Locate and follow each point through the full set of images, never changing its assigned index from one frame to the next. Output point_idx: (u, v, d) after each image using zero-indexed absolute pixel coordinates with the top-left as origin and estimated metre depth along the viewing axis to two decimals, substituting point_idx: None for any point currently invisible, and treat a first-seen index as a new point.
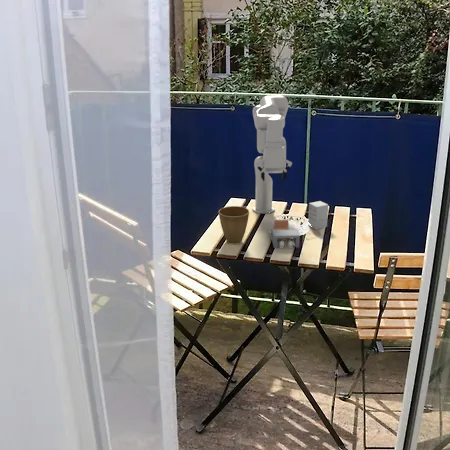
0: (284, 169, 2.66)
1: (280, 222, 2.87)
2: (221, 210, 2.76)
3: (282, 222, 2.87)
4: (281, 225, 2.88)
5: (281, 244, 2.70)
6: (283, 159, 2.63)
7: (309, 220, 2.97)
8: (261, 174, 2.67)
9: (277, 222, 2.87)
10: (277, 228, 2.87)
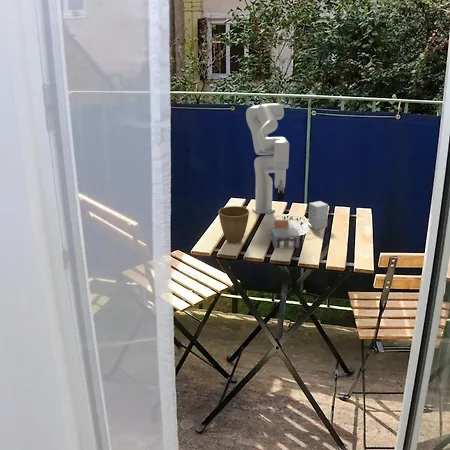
0: None
1: (280, 222, 2.87)
2: (221, 210, 2.76)
3: (282, 222, 2.87)
4: (281, 225, 2.88)
5: (281, 244, 2.70)
6: None
7: (309, 220, 2.97)
8: (281, 195, 2.83)
9: (277, 222, 2.87)
10: (277, 228, 2.87)
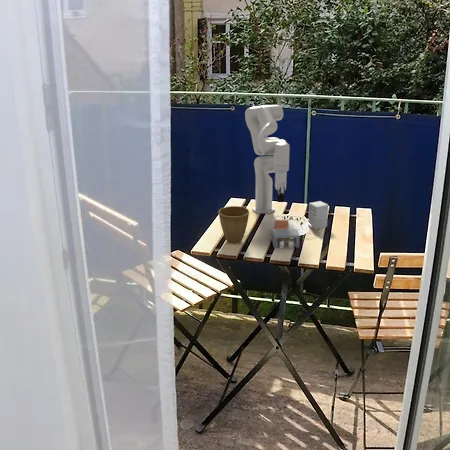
0: None
1: (280, 222, 2.87)
2: (221, 210, 2.76)
3: (282, 222, 2.87)
4: (281, 225, 2.88)
5: (281, 244, 2.70)
6: None
7: (309, 220, 2.97)
8: (282, 197, 2.89)
9: (277, 222, 2.87)
10: (277, 228, 2.87)
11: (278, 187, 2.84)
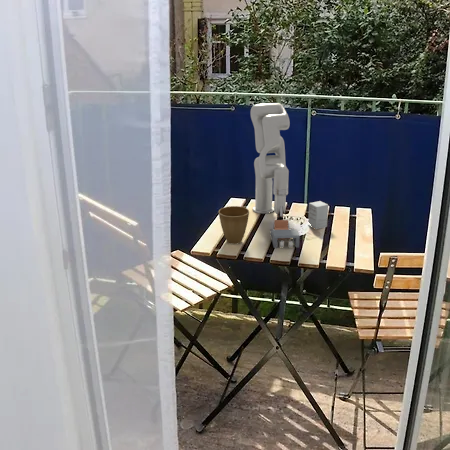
0: None
1: (280, 222, 2.87)
2: (221, 210, 2.76)
3: (282, 222, 2.87)
4: (281, 225, 2.88)
5: (281, 244, 2.70)
6: None
7: (309, 220, 2.97)
8: None
9: (277, 222, 2.87)
10: (277, 228, 2.87)
11: (277, 211, 2.88)
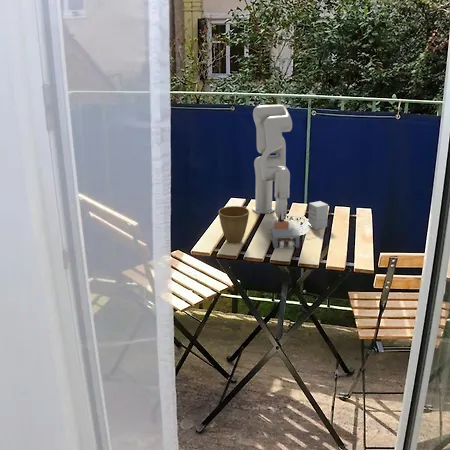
0: None
1: (280, 223, 2.86)
2: (221, 210, 2.76)
3: (282, 223, 2.86)
4: (281, 226, 2.86)
5: (281, 244, 2.70)
6: None
7: (309, 220, 2.97)
8: None
9: (277, 223, 2.86)
10: (277, 229, 2.85)
11: (278, 214, 2.84)
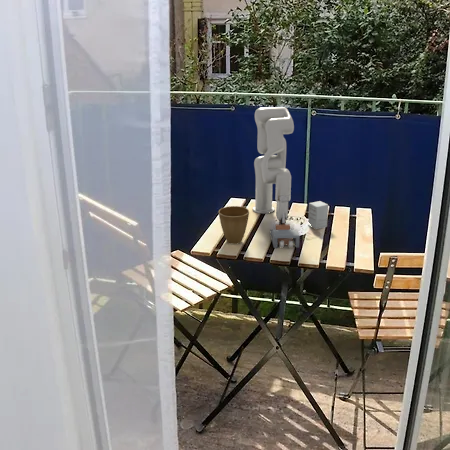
0: None
1: (281, 227, 2.81)
2: (221, 210, 2.76)
3: (283, 227, 2.81)
4: None
5: (281, 244, 2.70)
6: None
7: (309, 220, 2.97)
8: None
9: (278, 227, 2.81)
10: None
11: (279, 217, 2.80)
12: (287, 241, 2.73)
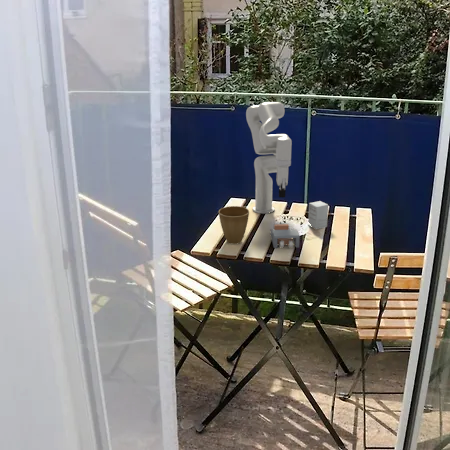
0: None
1: (280, 227, 2.81)
2: (221, 210, 2.76)
3: (282, 226, 2.81)
4: None
5: (281, 244, 2.70)
6: None
7: (309, 220, 2.97)
8: (283, 192, 2.86)
9: (277, 227, 2.81)
10: None
11: (279, 182, 2.80)
12: (287, 241, 2.74)
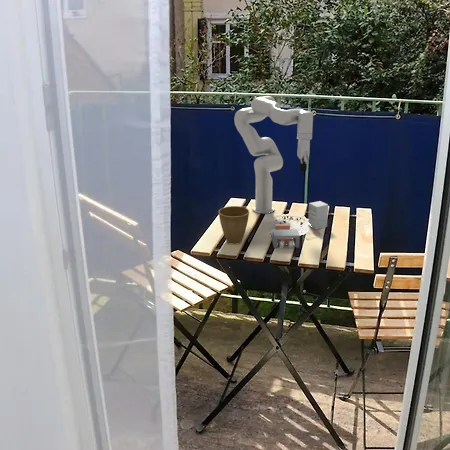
0: None
1: (281, 226, 2.81)
2: (221, 210, 2.76)
3: (283, 226, 2.81)
4: None
5: (281, 244, 2.70)
6: None
7: (309, 220, 2.97)
8: (304, 166, 2.89)
9: (278, 226, 2.81)
10: None
11: (301, 155, 2.84)
12: (287, 241, 2.73)
